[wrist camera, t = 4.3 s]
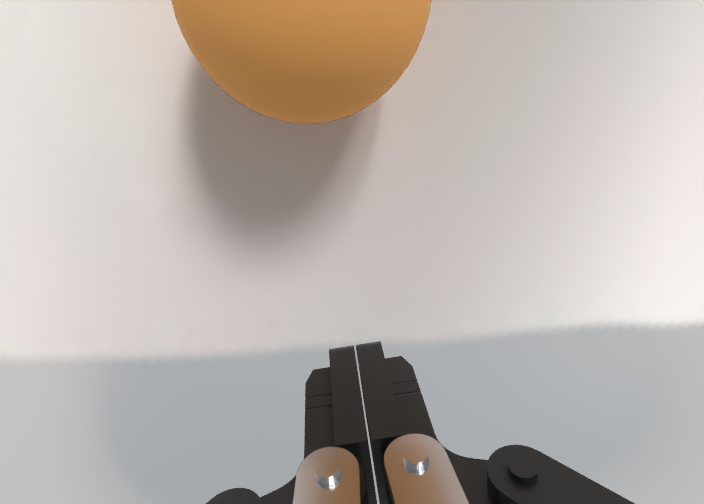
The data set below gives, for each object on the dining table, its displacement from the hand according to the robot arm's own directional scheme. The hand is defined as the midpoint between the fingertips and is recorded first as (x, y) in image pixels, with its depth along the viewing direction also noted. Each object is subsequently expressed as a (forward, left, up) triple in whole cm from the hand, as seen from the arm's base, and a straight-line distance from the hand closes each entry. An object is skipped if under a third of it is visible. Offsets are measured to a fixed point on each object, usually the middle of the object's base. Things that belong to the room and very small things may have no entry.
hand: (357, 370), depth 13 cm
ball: (-9, +3, -1) cm, 10 cm away
